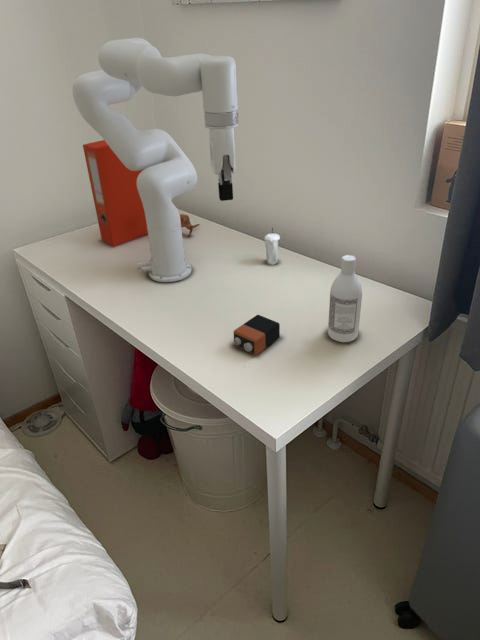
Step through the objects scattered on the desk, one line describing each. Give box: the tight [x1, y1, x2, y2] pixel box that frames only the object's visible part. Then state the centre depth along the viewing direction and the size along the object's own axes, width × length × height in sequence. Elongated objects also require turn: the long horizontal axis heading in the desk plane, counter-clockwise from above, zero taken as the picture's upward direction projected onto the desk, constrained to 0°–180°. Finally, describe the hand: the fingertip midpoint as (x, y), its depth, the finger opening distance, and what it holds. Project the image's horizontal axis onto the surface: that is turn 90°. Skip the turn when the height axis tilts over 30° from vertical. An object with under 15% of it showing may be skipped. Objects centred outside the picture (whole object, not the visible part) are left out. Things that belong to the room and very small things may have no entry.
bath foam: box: [327, 254, 363, 343], centre depth 112 cm, size 7×7×20 cm
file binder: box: [82, 139, 148, 247], centre depth 166 cm, size 8×17×32 cm, turn 133°
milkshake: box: [264, 227, 281, 266], centre depth 149 cm, size 4×5×10 cm
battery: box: [233, 314, 281, 356], centre depth 115 cm, size 4×7×10 cm
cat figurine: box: [179, 213, 200, 237], centre depth 168 cm, size 18×7×14 cm, turn 141°
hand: (226, 199), depth 121 cm, fingers closed
